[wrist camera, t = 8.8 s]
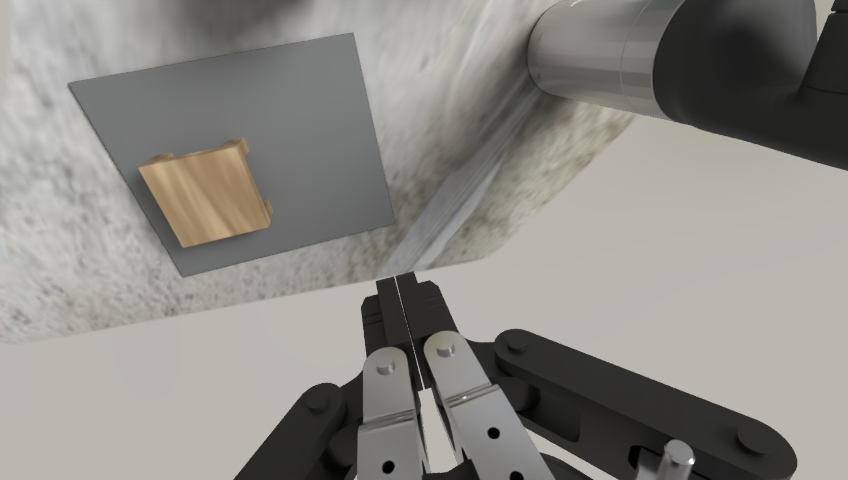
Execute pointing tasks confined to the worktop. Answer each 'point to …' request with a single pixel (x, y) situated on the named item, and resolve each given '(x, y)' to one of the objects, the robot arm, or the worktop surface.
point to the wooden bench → (207, 193)
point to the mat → (254, 140)
